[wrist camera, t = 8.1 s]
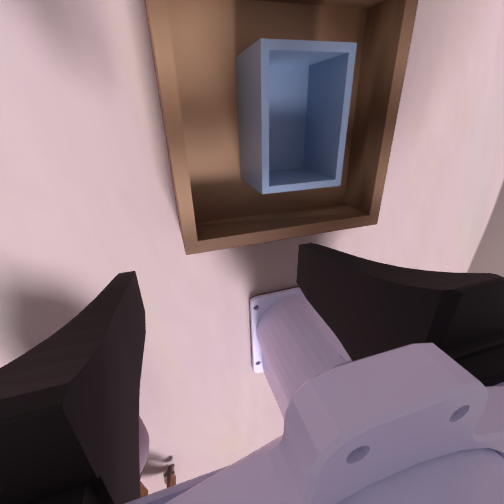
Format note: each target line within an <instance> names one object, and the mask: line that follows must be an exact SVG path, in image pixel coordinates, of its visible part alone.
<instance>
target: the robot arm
mask: <svg viewBox="0 0 504 504" xmlns="http://www.w3.org/2000/svg"><path fill="white" fill-rule="evenodd" d="M297 284H298V286H299V287H297V288H292V289H287V290H283V291H278V292H273V293H269V294H264V295H259V296H255V297H253V298H251V300H250V315H251V340H252V364H253V371H254V373H260V372H264V374H265V376H266V378H267V380H268V383H269V385H270V387H271V390H272V392H273V394H274V397H275V399H276V401H277V404H278V406H279V408H280V411H281V413H282V415H283V418H284V433H283V435H282V436H280V437H278V438H277V439H275V440H273V441H271V442H270V443H268V444H266V445H265V446H263V447H261V448H259V449H258V450H256V451H254V452H253V453H251V454H249V455H247V456H246V457H244V458H242V459H241V460H239V461H237V462H235V463H234V464H232V465H230V466H227V467H224V468H221V469H219V470H216V471H213V472H210V473H208V474H205V475H202V476H199V477H196V478H194V479H191V480H188V481H185V482H183V483H180V484H177V485H174V486H172V487H169V488H166V489H163V490H161V491H158V492H155V493H152V494H150V495H147V496H144V497H141V498H140V460H139V389H140V377H141V369H142V360H143V352H144V343H145V334H146V329H145V310H144V306H143V301H142V297H141V293H140V289H139V285H138V281H137V276H136V272H135V271H131V272H125V273H119V274H118V275H117V276H116V277H115V278H114V279H113V280H112V281H111V282H110V283H109V284H108V285H107V287H106V288H105V289H104V290H103V291H102V292H101V293H100V294H99V295H98V296H97V297H96V298H95V299H94V300H93V301H92V302H91V303H90V304H89V305H88V306H87V307H86V308H85V309H83V310H82V311H81V312H80V313H79V314H78V315H77V316H76V317H75V318H74V319H72V320H71V321H70V322H69V323H68V324H66V325H65V326H64V327H62V328H61V329H60V330H59V331H57V332H56V333H55V334H53V335H52V336H50V337H49V338H48V339H46V340H45V341H43V342H42V343H40V344H39V345H37V346H35V347H34V348H32V349H31V350H29V351H28V352H26V353H25V354H23V355H22V356H20V357H18V358H17V359H15V360H13V361H12V362H10V363H8V364H7V365H5V366H3V367H1V368H0V504H504V277H501V276H499V275H496V274H491V273H451V272H436V271H425V270H418V269H410V268H403V267H398V266H393V265H388V264H383V263H378V262H374V261H371V260H367V259H363V258H360V257H356V256H353V255H350V254H347V253H344V252H341V251H338V250H334V249H331V248H328V247H325V246H322V245H318V244H313V243H308V244H302V245H299V252H298V268H297ZM256 305H258V306H257V307H255V306H256ZM257 361H258V362H257Z"/></svg>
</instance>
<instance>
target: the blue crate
mask: <svg viewBox="0 0 504 504" xmlns="http://www.w3.org/2000/svg"><path fill="white" fill-rule="evenodd" d="M356 48H357V43H353V42H330V41H308V40H286V39H263V38H261V39H259V40H258V41H257V42H255V43H254V44H252V45H251V46H250V47H248V48H247V49H246V50H244V51H243V52H242V53H240V54H239V55H237V56H236V57H235V61H236V84H237V107H238V129H239V152H240V174H241V179H242V180H243V181H245V182H246V183H247V184H249V185H250V186H252V187H253V188H254V189H256V190H257V191H258V192H260V193H261V194H269V193H278V192H287V191H297V190H306V189H315V188H324V187H333V186H340V185H341V176H342V168H343V159H344V151H345V142H346V134H347V125H348V116H349V108H350V99H351V91H352V82H353V74H354V65H355V56H356Z"/></svg>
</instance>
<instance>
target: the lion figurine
mask: <svg viewBox="0 0 504 504" xmlns="http://www.w3.org/2000/svg"><path fill="white" fill-rule="evenodd" d="M173 468H174V464H171V465H170V466H169V467H168V471H167V476H166V477H165V478H164V481H165V484H167V488H169V487H172V486H174V485H176V476H175V474H172V472H173ZM147 495H148V490H147V489H146V487H145V486H144V485H143V484H142V482H141V481H140V498H141V497H144V496H147Z"/></svg>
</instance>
